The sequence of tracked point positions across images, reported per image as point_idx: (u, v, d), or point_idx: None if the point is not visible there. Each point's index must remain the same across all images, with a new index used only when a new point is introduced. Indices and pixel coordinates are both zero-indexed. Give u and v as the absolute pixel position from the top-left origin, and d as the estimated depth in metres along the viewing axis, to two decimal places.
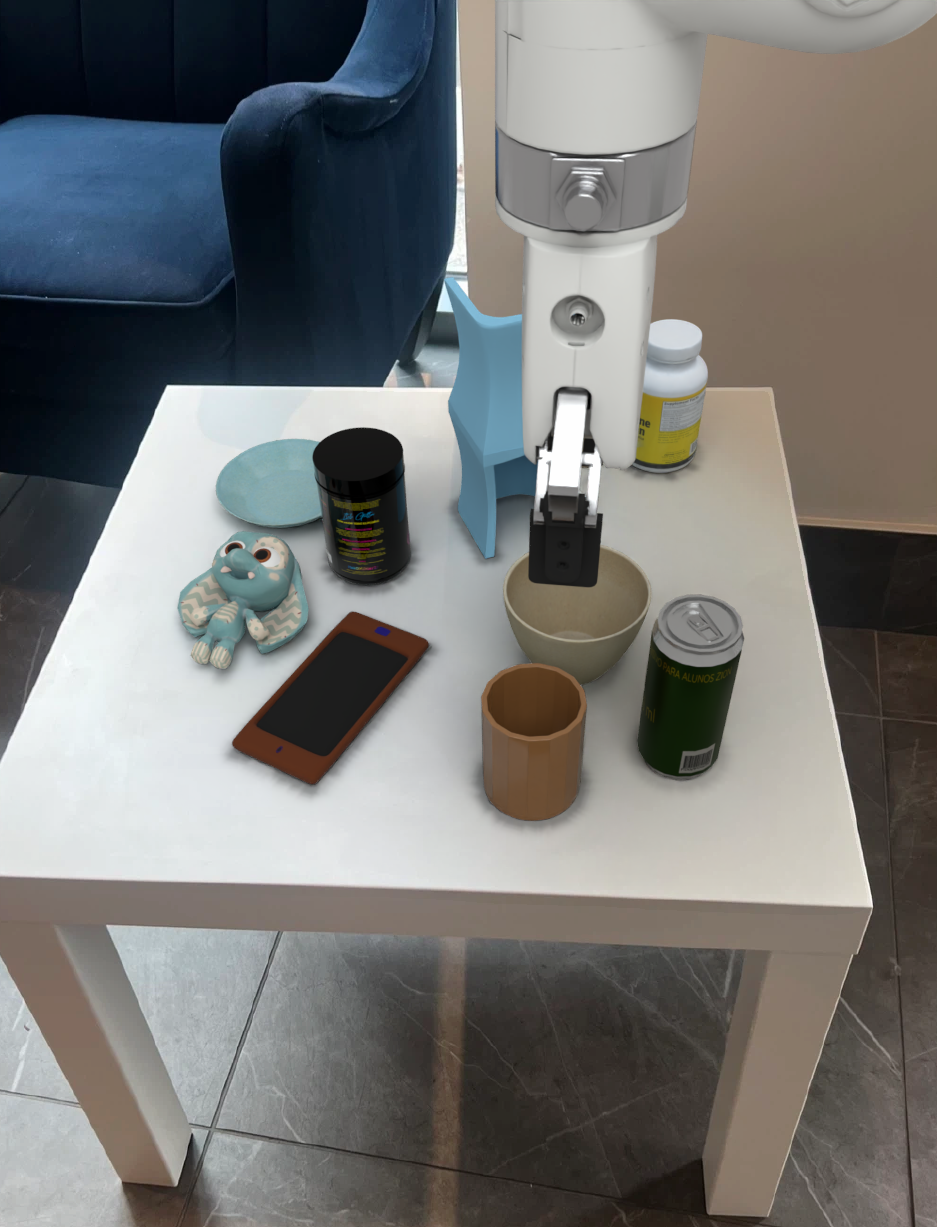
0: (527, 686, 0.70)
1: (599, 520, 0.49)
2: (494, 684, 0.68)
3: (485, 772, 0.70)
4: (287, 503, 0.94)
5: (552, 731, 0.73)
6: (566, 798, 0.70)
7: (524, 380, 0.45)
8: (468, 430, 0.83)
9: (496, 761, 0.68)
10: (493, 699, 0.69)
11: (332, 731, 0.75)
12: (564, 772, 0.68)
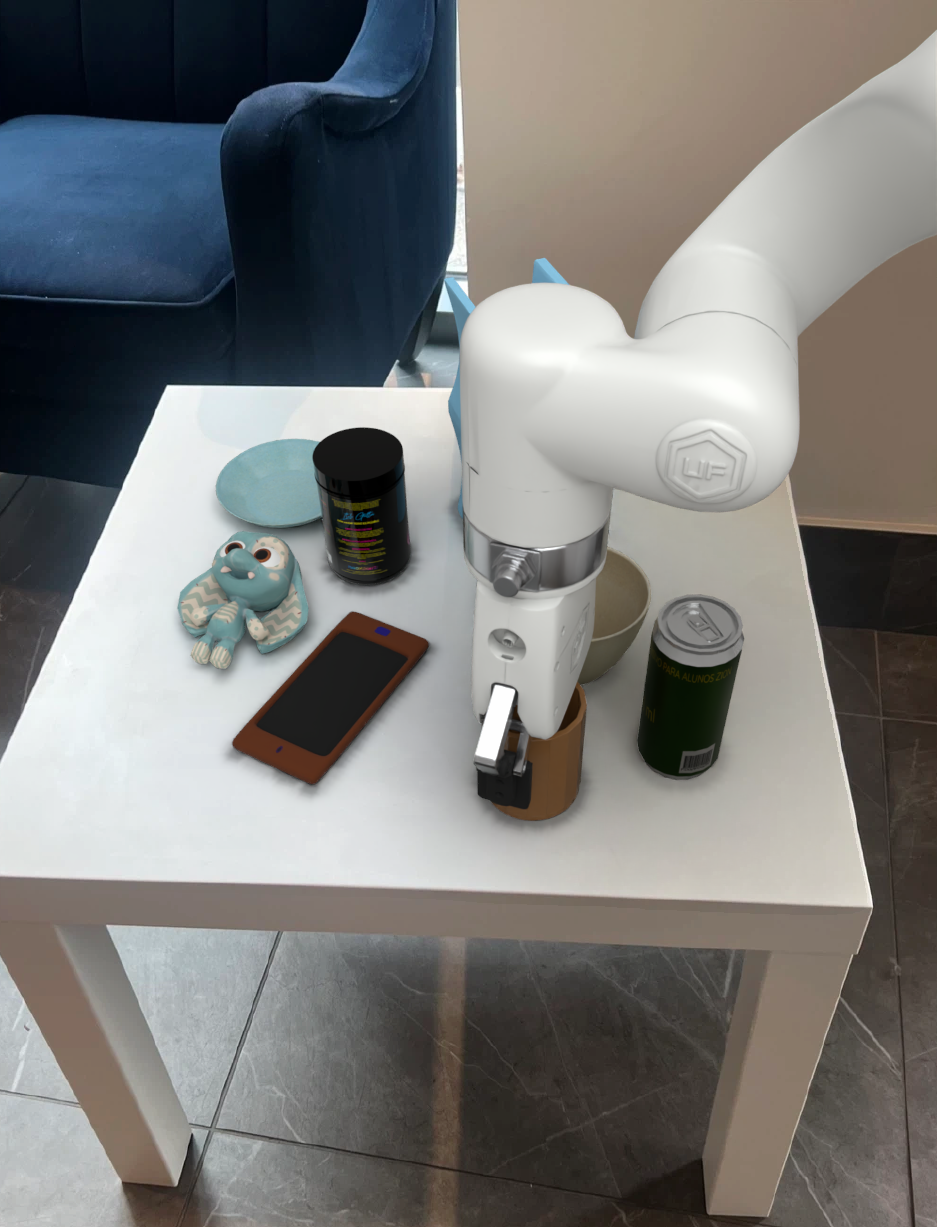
0: None
1: (528, 768, 0.63)
2: None
3: None
4: (287, 503, 0.94)
5: None
6: (566, 798, 0.70)
7: (471, 671, 0.60)
8: None
9: None
10: None
11: (332, 731, 0.75)
12: (564, 772, 0.68)
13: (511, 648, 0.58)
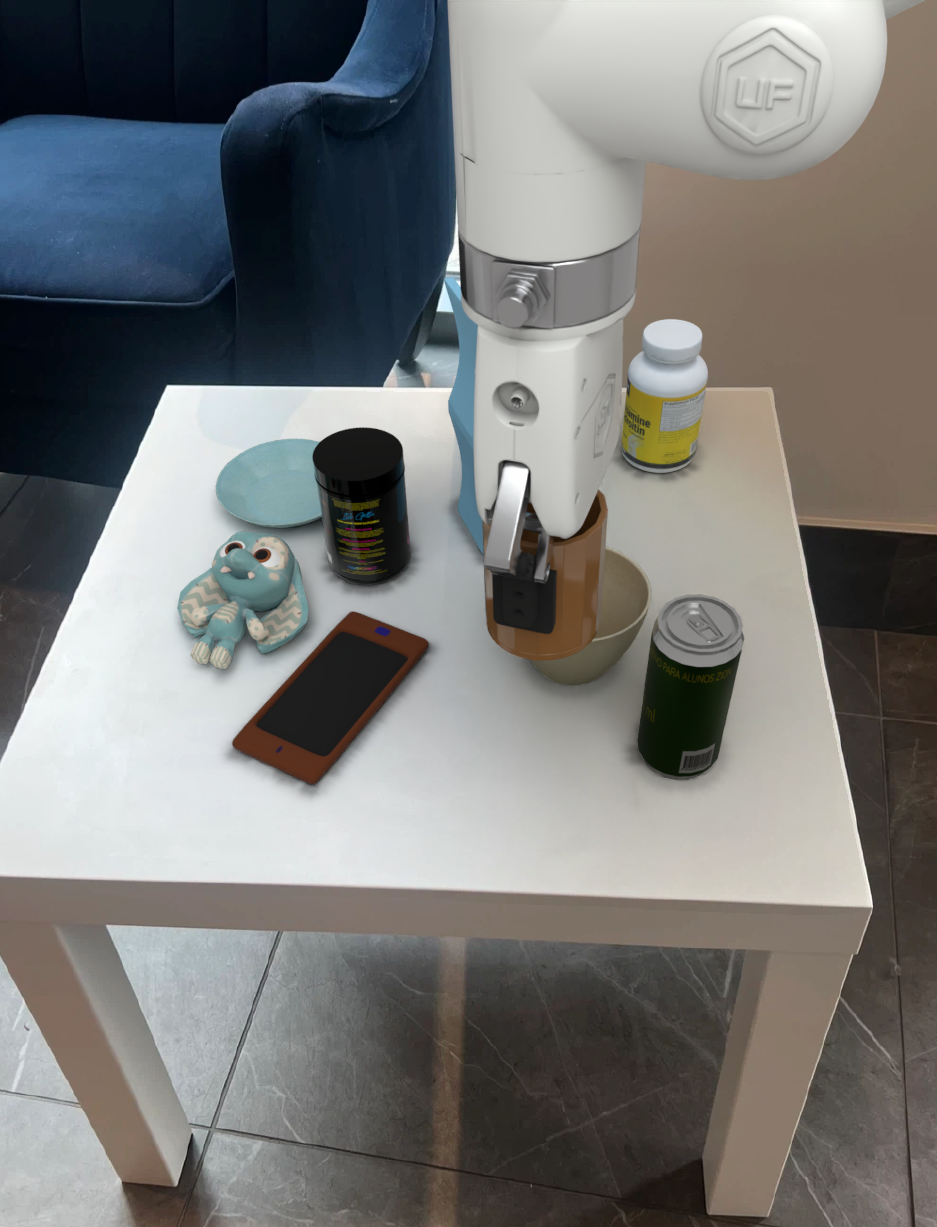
0: None
1: (551, 576, 0.54)
2: None
3: (488, 604, 0.60)
4: (287, 503, 0.94)
5: None
6: (584, 632, 0.59)
7: (474, 450, 0.49)
8: (468, 430, 0.83)
9: None
10: None
11: (332, 731, 0.75)
12: (581, 594, 0.57)
13: (521, 415, 0.48)
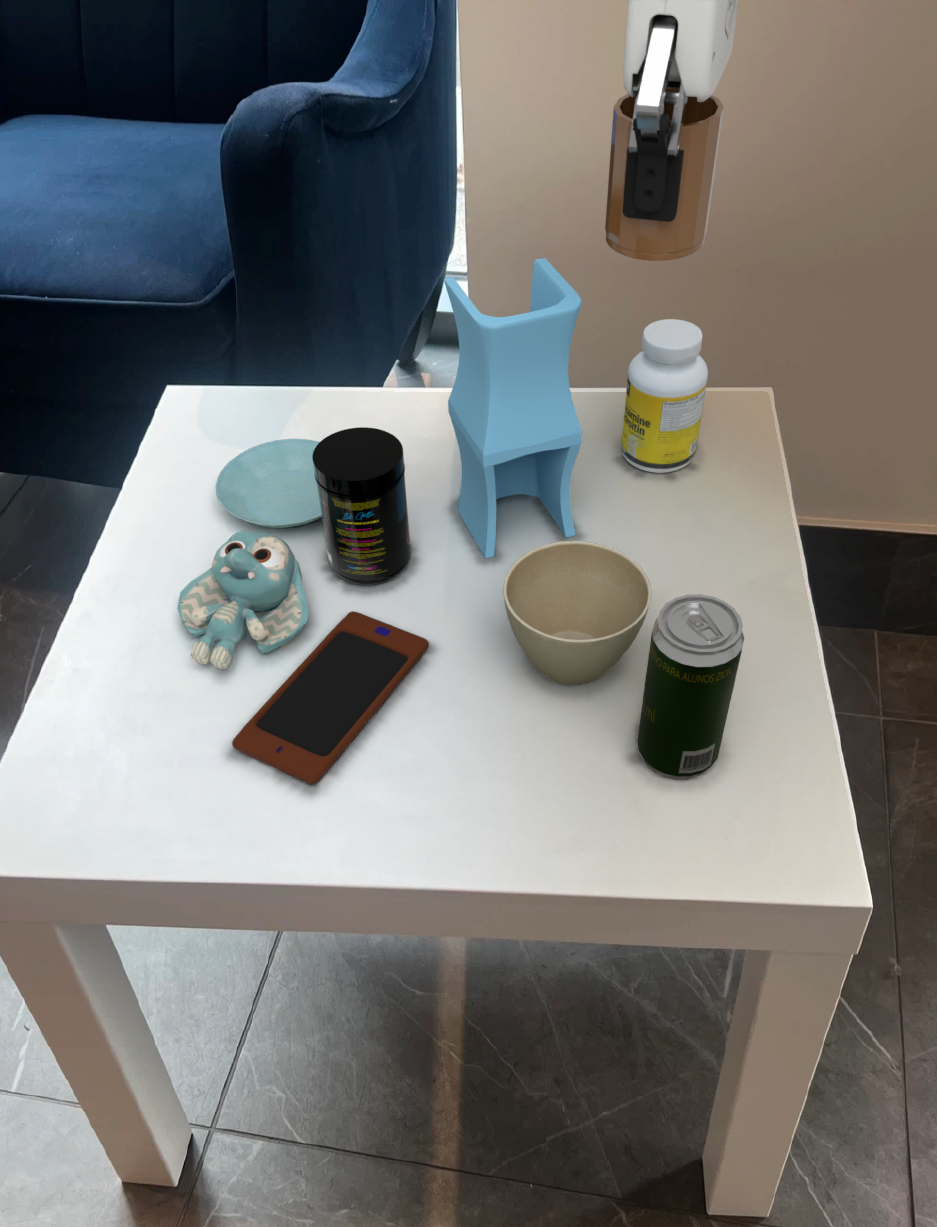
0: None
1: (680, 153, 0.63)
2: (625, 102, 0.67)
3: (612, 210, 0.69)
4: (287, 503, 0.94)
5: None
6: (696, 233, 0.68)
7: (628, 12, 0.58)
8: (468, 430, 0.83)
9: None
10: None
11: (332, 731, 0.75)
12: (698, 187, 0.66)
13: None
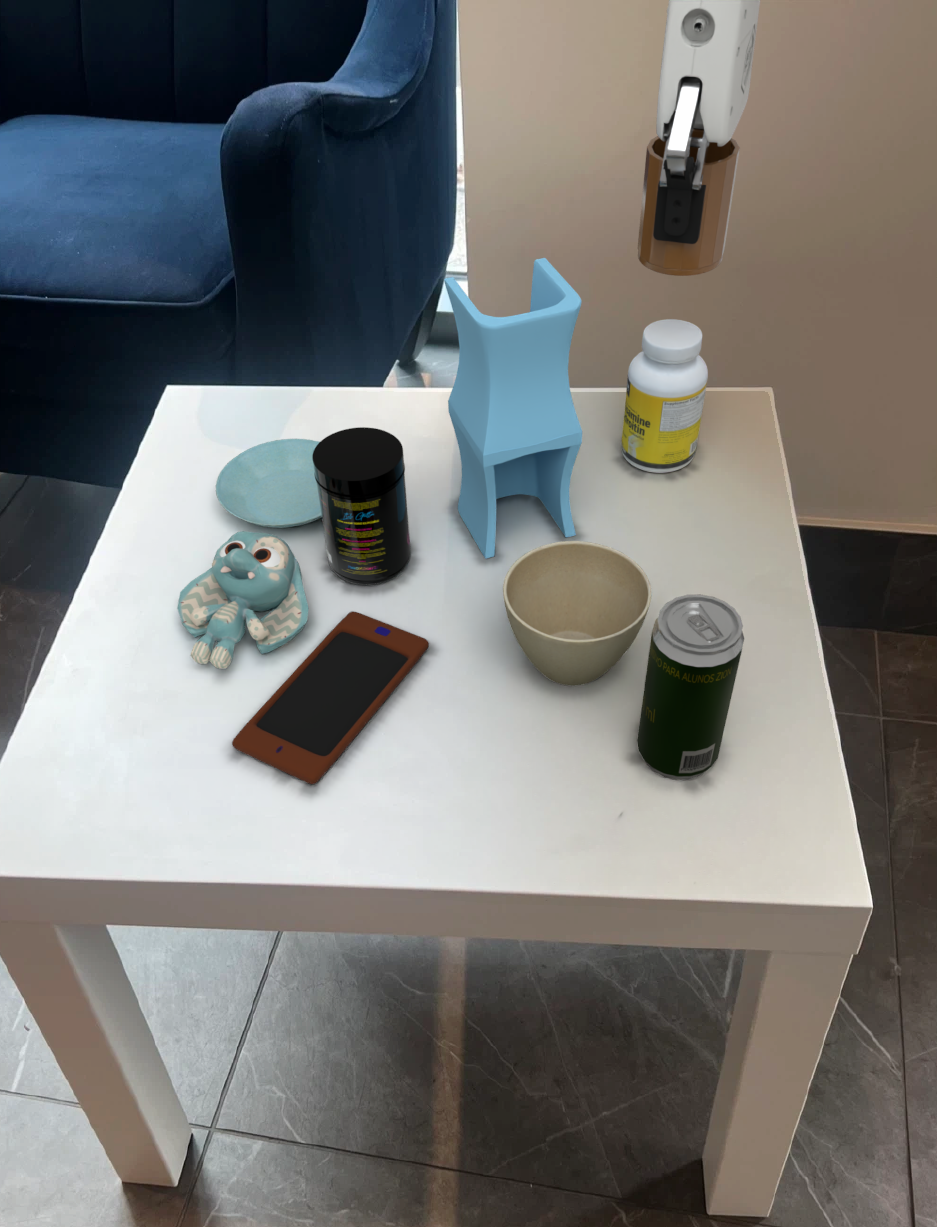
0: None
1: (702, 188, 0.76)
2: (656, 142, 0.79)
3: (644, 232, 0.81)
4: (287, 503, 0.94)
5: None
6: (715, 252, 0.81)
7: (661, 73, 0.71)
8: (468, 430, 0.83)
9: None
10: None
11: (332, 731, 0.75)
12: (717, 214, 0.79)
13: (698, 41, 0.70)
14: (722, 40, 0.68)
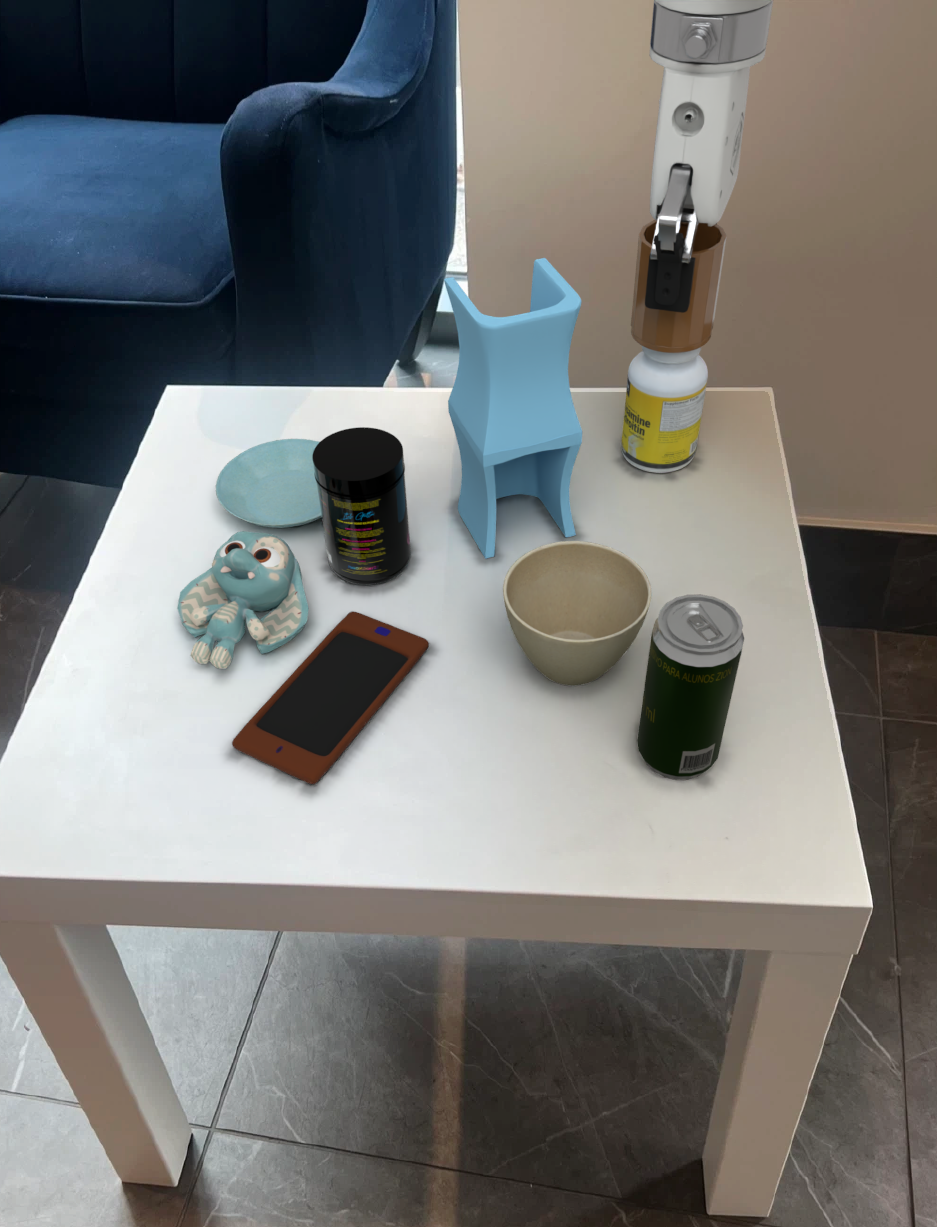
0: None
1: (692, 260, 0.78)
2: (648, 228, 0.84)
3: (637, 312, 0.86)
4: (287, 503, 0.94)
5: None
6: (704, 331, 0.86)
7: (654, 159, 0.75)
8: (468, 430, 0.83)
9: None
10: None
11: (332, 731, 0.75)
12: (706, 297, 0.83)
13: (688, 131, 0.73)
14: (711, 131, 0.72)
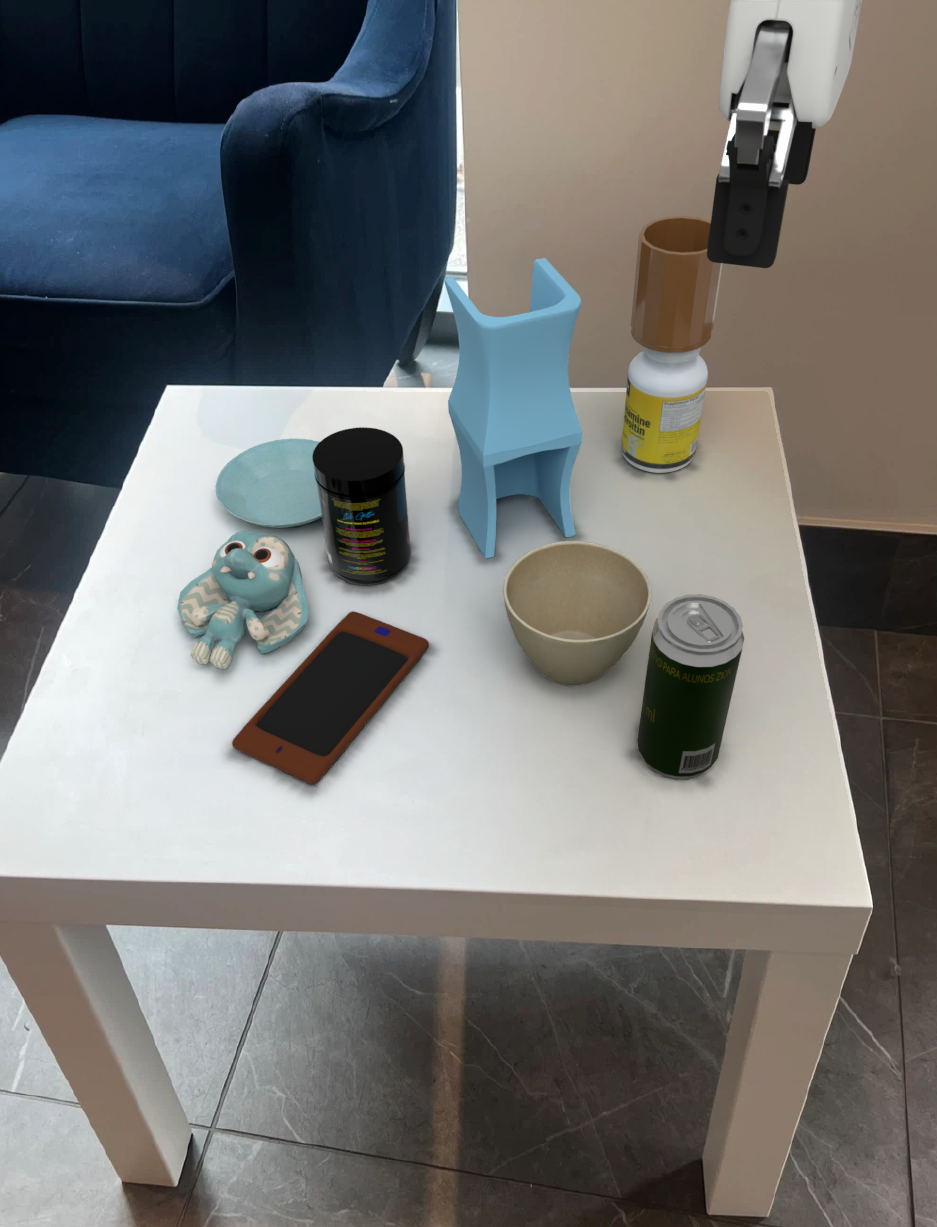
0: (671, 240, 0.86)
1: (784, 184, 0.50)
2: (648, 228, 0.84)
3: (637, 312, 0.86)
4: (287, 503, 0.94)
5: None
6: (704, 331, 0.86)
7: (729, 17, 0.47)
8: (468, 430, 0.83)
9: (650, 289, 0.83)
10: None
11: (332, 731, 0.75)
12: (706, 297, 0.83)
13: None
14: None
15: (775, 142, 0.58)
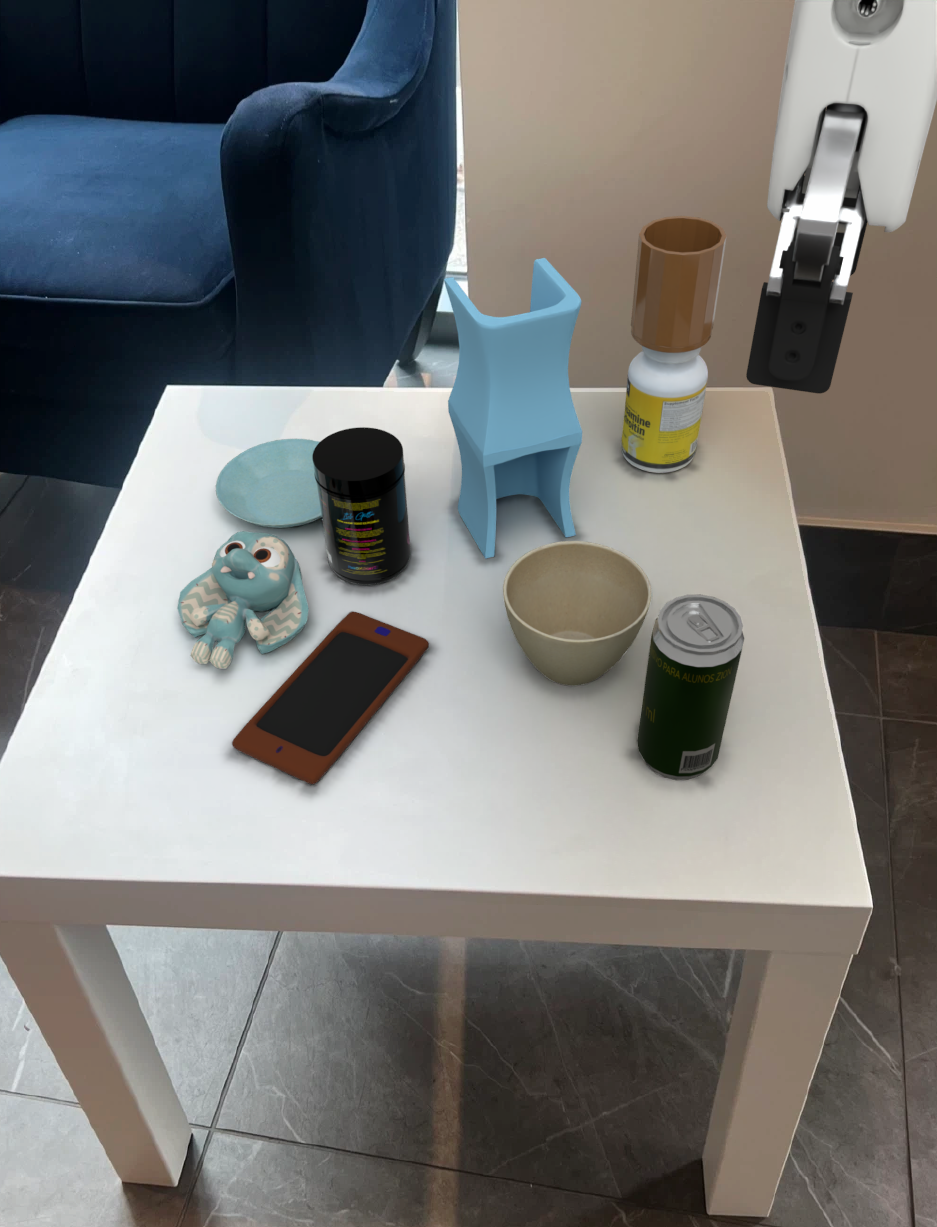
0: (671, 240, 0.86)
1: (847, 299, 0.40)
2: (648, 228, 0.84)
3: (637, 312, 0.86)
4: (287, 503, 0.94)
5: None
6: (704, 331, 0.86)
7: (784, 97, 0.37)
8: (468, 430, 0.83)
9: (650, 289, 0.83)
10: None
11: (332, 731, 0.75)
12: (706, 297, 0.83)
13: (862, 36, 0.35)
14: (916, 32, 0.34)
15: None
